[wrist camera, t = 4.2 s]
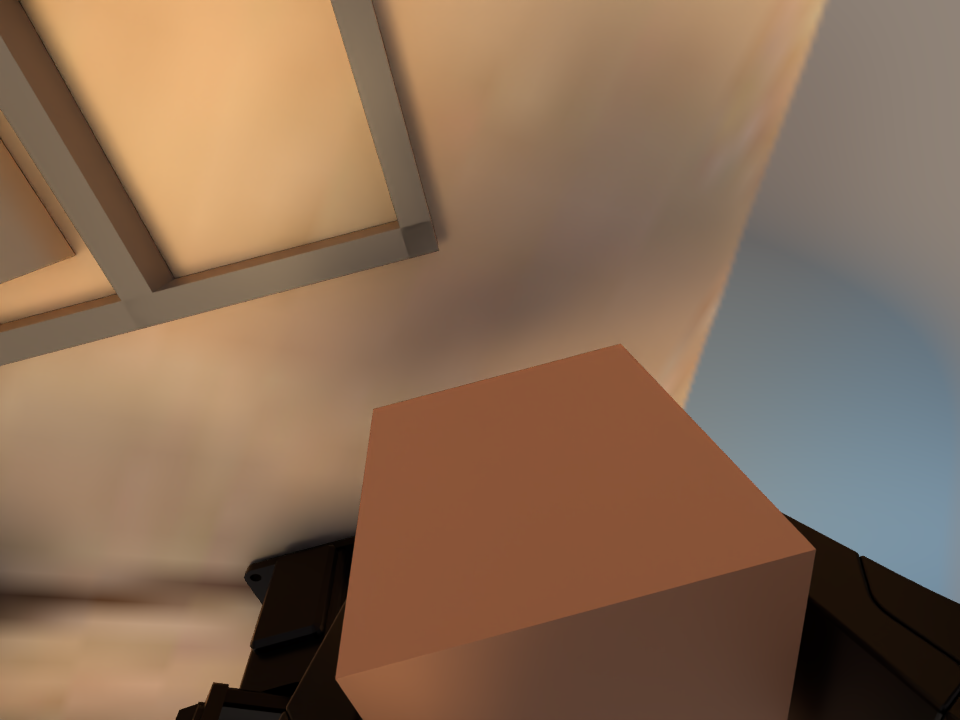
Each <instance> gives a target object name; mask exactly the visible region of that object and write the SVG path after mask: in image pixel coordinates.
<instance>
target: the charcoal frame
mask: <svg viewBox="0 0 960 720" xmlns="http://www.w3.org/2000/svg"><path fill="white" fill-rule="evenodd" d="M331 3H332V6H333V10H334V13H335V16H336V20H337V23H338V26H339V29H340V33H341V36H342V39H343V43H344V46H345V49H346V52H347V56H348V59H349V62H350V65H351V69H352V72H353V75H354V79H355V82H356V85H357V88H358V92H359V95H360V98H361V102H362V105H363V108H364V111H365V115H366V118H367V121H368V124H369V128H370V131H371V134H372V138H373V141H374V144H375V147H376V151H377V154H378V157H379V161H380V164H381V167H382V170H383V174H384V177H385V180H386V184H387V187H388V190H389V193H390V197H391V200H392V203H393V206H394V210H395V213H396V216H397V220H398V221H394V222H390V223H386V224H383V225H379V226H375V227H371V228H367V229H364V230H360V231H356V232H352V233H348V234H344V235H341V236H337V237H333V238H329V239H325V240H321V241H318V242H314V243H310V244H306V245H302V246H298V247H295V248H291V249H287V250H283V251H279V252H276V253H272V254H268V255H264V256H260V257H256V258H253V259H249V260H245V261H241V262H237V263H233V264H230V265H226V266H222V267H218V268H214V269H210V270H207V271H203V272H199V273H195V274H191V275H188V276H184V277H180V278H176V279H174V277H173V276H172V274H171V272H170V270H169V269H168V267H167V265H166V263H165V261H164V260H163V258H162V256H161V254H160V252H159V251H158V249H157V247H156V245H155V244H154V242H153V240H152V238H151V236H150V235H149V233H148V231H147V229H146V227H145V226H144V224H143V222H142V220H141V219H140V217H139V215H138V213H137V211H136V210H135V208H134V206H133V204H132V202H131V201H130V199H129V197H128V195H127V193H126V192H125V190H124V188H123V186H122V185H121V183H120V181H119V179H118V177H117V176H116V174H115V172H114V170H113V168H112V167H111V165H110V163H109V161H108V160H107V158H106V156H105V154H104V152H103V151H102V149H101V147H100V145H99V143H98V142H97V140H96V138H95V136H94V135H93V133H92V131H91V129H90V127H89V126H88V124H87V122H86V120H85V118H84V117H83V115H82V113H81V111H80V110H79V108H78V106H77V104H76V102H75V101H74V99H73V97H72V95H71V93H70V92H69V90H68V88H67V86H66V85H65V83H64V81H63V79H62V77H61V76H60V74H59V72H58V70H57V68H56V67H55V65H54V63H53V61H52V59H51V58H50V56H49V54H48V52H47V51H46V49H45V47H44V45H43V43H42V42H41V40H40V38H39V36H38V34H37V33H36V31H35V29H34V27H33V26H32V24H31V22H30V20H29V18H28V17H27V15H26V13H25V11H24V9H23V8H22V6H21V4H20V2H19V1H18V0H0V109H1V111H2V112H3V114H4V115H5V117H6V119H7V120H8V122H9V123H10V125H11V127H12V128H13V130H14V131H15V133H16V135H17V136H18V138H19V139H20V141H21V142H22V144H23V146H24V147H25V149H26V150H27V152H28V154H29V155H30V157H31V158H32V160H33V161H34V163H35V165H36V166H37V168H38V169H39V171H40V173H41V174H42V176H43V177H44V179H45V181H46V182H47V184H48V185H49V187H50V188H51V190H52V192H53V193H54V195H55V196H56V198H57V200H58V201H59V203H60V204H61V206H62V208H63V209H64V211H65V212H66V214H67V215H68V217H69V219H70V220H71V222H72V223H73V225H74V227H75V228H76V230H77V231H78V233H79V234H80V236H81V238H82V239H83V241H84V242H85V244H86V246H87V247H88V249H89V250H90V252H91V254H92V255H93V257H94V258H95V260H96V261H97V263H98V265H99V266H100V268H101V269H102V271H103V273H104V274H105V276H106V277H107V279H108V280H109V282H110V284H111V285H112V287H113V288H114V290H115V292H116V293H117V294H115V295H111V296H107V297H103V298H100V299H96V300H92V301H88V302H84V303H80V304H77V305H73V306H69V307H65V308H61V309H57V310H54V311H50V312H46V313H42V314H38V315H35V316H31V317H27V318H23V319H19V320H15V321H12V322H8V323H4V324H0V366H2V365H6V364H9V363H13V362H17V361H21V360H25V359H28V358H32V357H36V356H40V355H44V354H47V353H51V352H55V351H59V350H63V349H67V348H70V347H74V346H78V345H82V344H86V343H89V342H93V341H97V340H101V339H105V338H108V337H112V336H116V335H120V334H124V333H127V332H131V331H135V330H139V329H143V328H147V327H150V326H154V325H158V324H162V323H166V322H169V321H173V320H177V319H181V318H185V317H188V316H192V315H196V314H200V313H204V312H208V311H211V310H215V309H219V308H223V307H227V306H230V305H234V304H238V303H242V302H246V301H249V300H253V299H257V298H261V297H265V296H269V295H272V294H276V293H280V292H284V291H288V290H291V289H295V288H299V287H303V286H307V285H310V284H314V283H318V282H322V281H326V280H329V279H333V278H337V277H341V276H345V275H349V274H352V273H356V272H360V271H364V270H368V269H371V268H375V267H379V266H383V265H387V264H390V263H394V262H398V261H402V260H406V259H410V258H413V257H417V256H421V255H425V254H429V253H432V252H436V251H439V248H438V243H437V239H436V235H435V231H434V228H433V224H432V220H431V217H430V213H429V209H428V206H427V202H426V198H425V194H424V191H423V187H422V183H421V180H420V176H419V172H418V169H417V165H416V161H415V158H414V154H413V150H412V147H411V143H410V139H409V136H408V132H407V128H406V124H405V121H404V117H403V113H402V110H401V106H400V102H399V99H398V95H397V91H396V88H395V84H394V80H393V77H392V73H391V69H390V66H389V62H388V58H387V54H386V51H385V47H384V43H383V40H382V36H381V32H380V29H379V25H378V21H377V18H376V14H375V10H374V7H373V3H372V0H331ZM72 256H75V254H74V252H73V251H72V249H71V248H70V246H69V244H68V243H67V241H66V240H65V238H64V237H63V235H62V234H61V232H60V231H59V229H58V227H57V226H56V224H55V223H54V221H53V220H52V218H51V217H50V215H49V214H48V212H47V210H46V209H45V207H44V206H43V204H42V203H41V201H40V200H39V198H38V197H37V195H36V194H35V192H34V190H33V189H32V187H31V186H30V184H29V183H28V181H27V180H26V178H25V177H24V175H23V173H22V172H21V170H20V169H19V167H18V166H17V164H16V163H15V161H14V160H13V158H12V156H11V155H10V153H9V152H8V150H7V149H6V147H5V146H4V144H3V143H2V141H1V139H0V284H1V283H4V282H6V281H9V280H12V279H14V278H17V277H20V276H22V275H25V274H28V273H30V272H33V271H35V270H38V269H41V268H43V267H46V266H49V265H51V264H54V263H56V262H59V261H62V260H64V259H67V258H70V257H72Z"/></svg>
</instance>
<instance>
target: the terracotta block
mask: <svg viewBox="0 0 960 720" xmlns="http://www.w3.org/2000/svg"><path fill="white" fill-rule="evenodd" d="M815 552H816V549H815V548H814V547H813V546H812V545H811V543H810V542H809V541H808V540H807V539H806V538H805V537H804V536H803V535H802V534H801V533H800V532H799V531H798V530H797V529H796V528H795V527H794V526H793V525H792V523H791V522H790V521H789V520H788V519H787V518H786V517H785V516H784V515H783V514H782V513H781V512H780V511H779V510H778V509H777V508H776V507H775V506H774V505H773V503H772V502H771V501H770V500H769V499H768V498H767V497H766V496H765V495H764V494H763V493H762V492H761V491H760V490H759V489H758V488H757V487H756V486H755V485H754V484H753V483H752V481H751V480H750V479H749V478H748V477H747V476H746V475H745V474H744V473H743V472H742V471H741V470H740V469H739V468H738V467H737V466H736V465H735V464H734V463H733V461H732V460H731V459H730V458H729V457H728V456H727V455H726V454H725V453H724V452H723V451H722V450H721V449H720V448H719V447H718V446H717V445H716V444H715V442H714V441H713V440H712V439H711V438H710V437H709V436H708V435H707V434H706V433H705V432H704V431H703V430H702V429H701V428H700V427H699V426H698V425H697V424H696V423H695V422H694V420H692V418H691V417H690V416H689V415H688V414H687V413H686V412H685V411H684V410H683V409H682V408H681V407H680V406H679V405H678V404H677V402H676V401H675V400H674V399H673V398H672V397H671V396H670V395H669V394H668V393H667V392H666V391H665V390H664V389H663V388H662V387H661V386H660V385H659V384H658V382H657V381H656V380H655V379H654V378H653V377H652V376H651V375H650V374H649V373H648V372H647V371H646V370H645V369H644V368H643V367H642V366H641V365H640V364H639V363H638V361H637V360H636V359H635V358H634V357H633V356H632V355H631V354H630V353H629V352H628V351H627V350H626V349H625V348H624V347H623V346H622V345H621V344H618V345H614V346H610V347H606V348H603V349H599V350H595V351H591V352H587V353H584V354H580V355H576V356H572V357H569V358H565V359H561V360H557V361H553V362H550V363H546V364H542V365H538V366H534V367H531V368H527V369H523V370H519V371H516V372H512V373H508V374H504V375H500V376H497V377H493V378H489V379H485V380H481V381H478V382H474V383H470V384H466V385H463V386H459V387H455V388H451V389H447V390H444V391H440V392H436V393H432V394H428V395H425V396H421V397H417V398H413V399H410V400H406V401H402V402H398V403H394V404H391V405H387V406H383V407H379V408H375V409H373V416H372V423H371V430H370V437H369V444H368V451H367V458H366V465H365V472H364V479H363V486H362V493H361V501H360V508H359V515H358V522H357V529H356V536H355V543H354V550H353V557H352V564H351V571H350V578H349V585H348V592H347V600H346V607H345V614H344V621H343V628H342V635H341V642H340V649H339V656H338V663H337V670H336V677H335V679H336V681H337V682H338V684H339V685H340V687H341V688H342V690H343V691H344V693H345V694H346V696H347V697H348V699H349V700H350V702H351V703H352V704H353V706H354V707H355V709H356V710H357V712H358V713H359V715H360V716H361V718H362V719H363V720H787V719H788V713H789V707H790V701H791V695H792V689H793V683H794V677H795V671H796V665H797V659H798V654H799V648H800V642H801V636H802V630H803V624H804V618H805V612H806V606H807V600H808V594H809V588H810V582H811V576H812V570H813V564H814V558H815Z"/></svg>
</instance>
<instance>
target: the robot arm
mask: <svg viewBox="0 0 960 720" xmlns="http://www.w3.org/2000/svg"><path fill="white" fill-rule="evenodd" d="M782 514H783V513H782ZM783 515H784V516H785V517H786V518H787V519H788V520H789V521H790V522H791V523H792V525H793V526H794V527H795V528H796V529H797V530H798V531H799V532H800V533H801V534H802V535H803V536H804V537H805V538H806V539H807V540H808V541H809V542H810V543H811V545H812V546H813V547H814V548H815V549H816V552H815V558H814V564H813V570H812V576H811V582H810V588H809V594H808V600H807V606H806V612H805V618H804V624H803V630H802V636H801V642H800V648H799V654H798V659H797V665H796V671H795V677H794V683H793V689H792V695H791V701H790V707H789V713H788V719H787V720H960V604H959V603H957V602H954V601H952V600H950V599H948V598H946V597H944V596H942V595H940V594H937V593H935V592H933V591H931V590H929V589H927V588H925V587H923V586H921V585H919V584H917V583H915V582H913V581H911V580H909V579H907V578H905V577H903V576H901V575H899V574H897V573H895V572H894V571H891V570H889V569H887V568H886V567H884V566H882V565H880V564H878V563H876V562H874V561H873V560H871V559H869V558H867V557H865V556H860V557H859V554H858V553H857V552H855V551H853V550H851V549H849V548H847V547H846V546H844V545H842V544H840V543H838V542H836V541H834V540H832V539H831V538H829V537H827V536H825V535H823V534H821V533H819V532H817V531H815V530H814V529H812V528H810V527H808V526H806V525H804V524H802V523H800V522H798V521H797V520H795V519H793V518H791V517H789V516H787V515H785V514H783ZM354 543H355V536H354V537H350V538H347V539H343V540H339V541H336V542H332V543H328V544H324V545H321V546H317V547H313V548H309V549H306V550H302V551H298V552H295V553H291V554H287V555H283V556H280V557H276V558H272V559H269V560H265V561H261V562H257V563H254V564H251V565H250V566H249V567H248V568H247V571H246V573H245V576H244V578H245V581H246V582H247V584H248V585H249V586H250V588H251V589H252V591H253V592H254V594H255V595H256V596H257V598H258V599H259V601H260V602H261V603H262V608H261V611H260V614H259V617H258V621H257V624H256V627H255V630H254V633H253V637H252V640H251V643H250V647H251V648H252V649H251V652H250V656H249V659H248V662H247V665H246V669H245V672H244V675H243V678H242V682H241V685H240V688H239V689H237V688H229V687H228V686H229V684H223V683H215V682H213V685H212V687H211V689H210V692H209V694H208V696H207V699H206V701H205V702H198V704H196V705H193V706H190V707H187V708H184V709H181V710H179V712H178V715H177V717H176V720H363V719H362V718H361V716H360V715H359V713H358V712H357V710H356V709H355V707H354V706H353V704H352V703H351V702H350V700H349V699H348V697H347V696H346V694H345V693H344V691H343V690H342V688H341V687H340V685H339V684H338V682H337V681H336V679H335V677H336V670H337V663H338V656H339V649H340V642H341V635H342V628H343V621H344V614H345V607H346V600H347V592H348V585H349V578H350V571H351V564H352V557H353V550H354Z"/></svg>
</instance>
